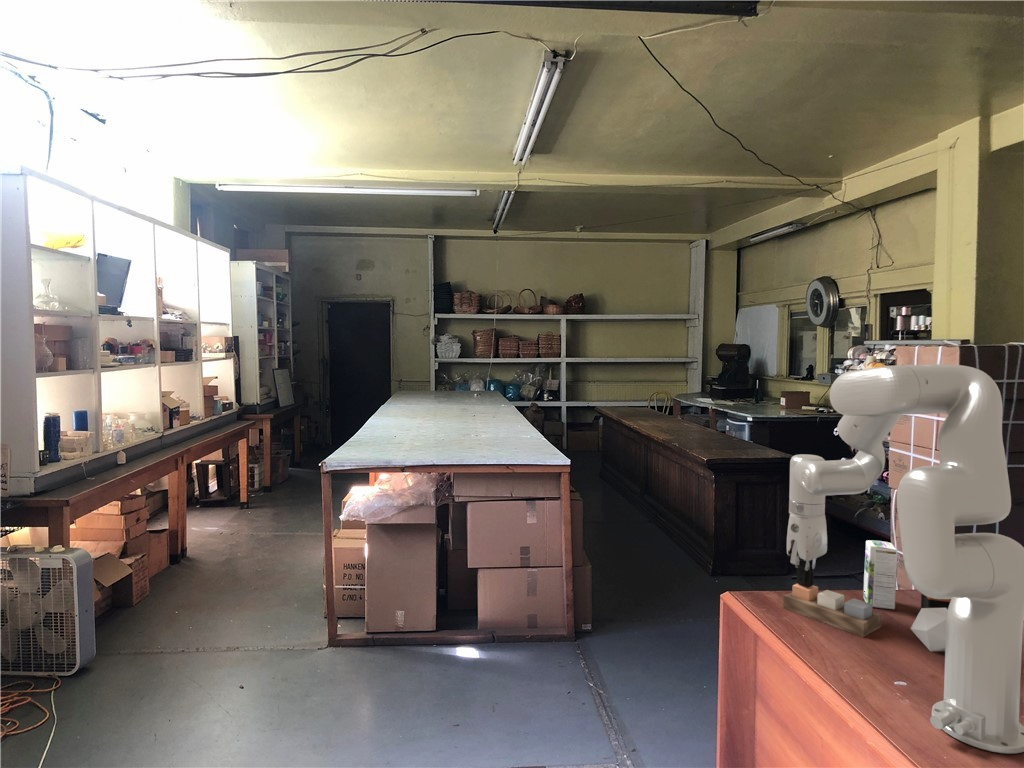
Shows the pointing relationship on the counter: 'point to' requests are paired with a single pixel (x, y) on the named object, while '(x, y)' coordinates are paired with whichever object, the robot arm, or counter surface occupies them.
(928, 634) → the die
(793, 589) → the peach square block
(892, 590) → the syrup box
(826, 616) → the button board
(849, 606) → the grey button
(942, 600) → the battery
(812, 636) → the counter surface
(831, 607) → the cream button
